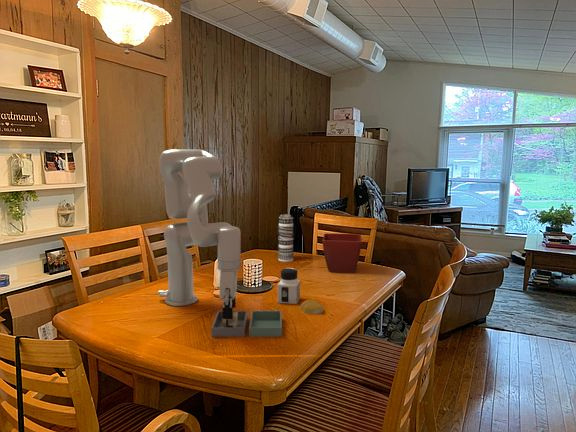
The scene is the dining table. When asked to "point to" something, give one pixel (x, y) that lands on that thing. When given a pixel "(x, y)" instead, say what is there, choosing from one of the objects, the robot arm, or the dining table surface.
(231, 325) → the letter cube
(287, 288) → the container
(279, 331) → the green-grey bin
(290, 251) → the decorative candle
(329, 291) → the dining table surface
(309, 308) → the bread roll
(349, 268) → the plant pot
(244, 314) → the charcoal bin
